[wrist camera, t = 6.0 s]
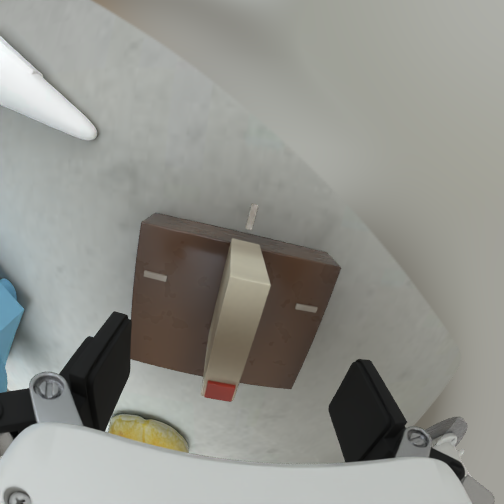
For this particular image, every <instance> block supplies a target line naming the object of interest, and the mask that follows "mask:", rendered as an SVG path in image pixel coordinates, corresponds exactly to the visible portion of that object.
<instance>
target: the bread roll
mask: <svg viewBox="0 0 504 504" xmlns="http://www.w3.org/2000/svg"><path fill="white" fill-rule="evenodd" d="M108 433H111V434H114V435H118V436H121V437H125V438H128V439H132V440H135V441H139V442H143V443H147V444H151V445H155V446H159V447H163V448H167V449H172V450H176V451H181V452H186V453H189V448H188V445H187V443H186V441H185V439H184V438H183V437H182V436H181V435H180V434H179V433H178V432H177V431H176V430H175V429H173V428H172V427H170V426H169V425H167V424H165V423H162V422H159V421H156V420H152V419H149V420H145V419H144V418H142V417H140V416H138V415H129V414H121V415H117V416H115V417H113V418H111V419H110V426H109V431H108Z"/></svg>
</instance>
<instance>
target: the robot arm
mask: <svg viewBox="0 0 504 504" xmlns="http://www.w3.org/2000/svg"><path fill="white" fill-rule="evenodd" d="M131 328H132V321H131V320H129V319H128V316H127V315H125V314H122V313H118V312H113V313H112V314H111V316H110V317H109V318H108V319H107V321H106V322H105V323H104V325H103V326H102V327H101V328H100V330H99V331H98V332H97V334H96V335H95V336H94V338H93V337H90V336H89V337H87V338H86V339H85V340H84V342H83V343H82V344H81V346H80V347H79V348H78V349H77V351H76V352H75V353H74V355H73V356H72V357H71V359H70V360H69V361H68V363H67V364H66V365H65V367H64V368H63V370H62V371H61V372H60V374H57V373H53V372H42V373H39V374H37V375H35V376H34V377H33V378H32V379H31V381H30V383H29V388H28V389H22V390H16V391H9V392H2V393H0V456H2V458H1V459H0V504H494V502H495V501H494V496H493V494H492V493H491V492H490V491H489V490H487V489H486V488H485V487H484V486H482V485H481V484H480V483H478V482H477V481H476V480H474V479H473V478H472V477H471V476H470V475H469V473H468V471H467V469H466V468H465V466H464V464H463V462H462V461H461V455H463V454H464V450H463V449H461V450H458V451H457V449H456V448H455V444H456V442H457V437H456V435H455V434H454V433H448V434H444V435H442V436H439V437H437V438H435V439H433V440H432V439H431V436H430V435H429V434H428V432H426V431H425V430H424V429H422V428H420V427H417V426H411V427H408V428H405V424H406V423H407V421H406V419H405V418H404V416H403V414H402V412H401V411H400V409H399V407H398V405H397V404H396V402H395V400H394V399H393V397H392V395H391V393H390V392H389V390H388V388H387V387H386V385H385V383H384V382H383V380H382V378H381V377H380V375H379V373H378V372H377V370H376V368H375V367H374V365H373V364H372V362H371V361H370V360H362V359H358V360H356V362H353V363H352V365H351V366H350V368H349V370H348V372H347V374H346V376H345V378H344V380H343V381H342V383H341V385H340V387H339V389H338V390H337V392H336V394H335V396H334V397H333V399H332V401H331V403H330V405H329V413H330V416H331V419H332V422H333V425H334V428H335V432H336V435H337V438H338V441H339V444H340V447H341V450H342V453H343V456H344V459H345V462H346V463H329V464H280V463H262V462H249V461H239V460H231V459H223V458H216V457H209V456H203V455H197V454H191V453H186V452H181V451H176V450H172V449H167V448H163V447H159V446H155V445H151V444H147V443H143V442H139V441H135V440H132V439H128V438H125V437H121V436H118V435H114V434H111V433H107V432H105V430H106V427H107V425H108V422H109V420H110V418H111V415H112V413H113V411H114V409H115V406H116V404H117V402H118V400H119V397H120V395H121V393H122V391H123V388H124V386H125V384H126V382H127V380H128V377H129V374H130V352H131Z"/></svg>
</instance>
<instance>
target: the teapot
mask: <svg viewBox="0 0 504 504" xmlns="http://www.w3.org/2000/svg"><path fill="white" fill-rule="evenodd" d="M23 312H24V308H23V307H22V306H21V305H20V304H19V303H18V302H17V295H16V291H15V289H14V287H13V285H12V284H11V283H10V282H9V281H8V280H7V279H4V278H3V279H0V393H2V392H7V374H6V370H5V365H6V361H7V358H8V354H9V351H10V348H11V345H12V342H13V339H14V336H15V333H16V330H17V328H18V325H19V322H20V320H21V317H22V314H23Z"/></svg>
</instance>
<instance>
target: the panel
mask: <svg viewBox="0 0 504 504" xmlns="http://www.w3.org/2000/svg"><path fill="white" fill-rule="evenodd" d="M257 209H258V205H256V204H251V208H250V212H249V216H248V220H247V224H246V229H249V230H252V228H253V224H254V220H255V216H256V213H257ZM232 238H233V239H238V240H242V241H246V242H250V243H255V244H259V245H260V248H261V252H262V255H263V259H264V262H265V266H266V270H267V273H268V277H269V280H270V284H271V287H270V290H269V293H268V296H267V299H266V303H265V306H264V309H263V312H262V315H261V318H260V322H259V325H258V328H257V331H256V334H255V337H254V340H253V343H252V346H251V349H250V352H249V355H248V358H247V362H246V365H245V368H244V371H243V374H242V376H241V379H240V382H239V383H244V384H251V385H258V386H266V387H275V388H284V389H292V386H293V384H294V382H295V380H296V378H297V376H298V373H299V371H300V369H301V367H302V365H303V362H304V360H305V358H306V356H307V353H308V351H309V349H310V346H311V344H312V342H313V339H314V337H315V334H316V332H317V330H318V327H319V325H320V322H321V320H322V317H323V315H324V312H325V310H326V307H327V305H328V302H329V299H330V297H331V294H332V291H333V289H334V286H335V283H336V281H337V278H338V275H339V272H340V269H341V267H340V266H339V265H338V264H337V263H336V262H335V261H334V260H333V259H332V258H331V256H330V255H329V254H328V253H326V252H322V251H318V250H314V249H310V248H306V247H302V246H298V245H293V244H289V243H285V242H281V241H277V240H272V239H268V238H264V237H260V236H255V235H251V234H247V233H243V232H238V231H234V230H230V229H225V228H221V227H217V226H212V225H208V224H203V223H199V222H195V221H190V220H186V219H181V218H177V217H172V216H168V215H163V214H158V213H154V214H153V215H151V216H150V217H148V218H147V219H145V220H144V221H142V222H141V228H140V235H139V242H138V249H137V258H136V266H135V276H134V286H133V298H132V312H131V321H132V328H131V352H130V359H133V360H136V361H140V362H143V363H147V364H151V365H155V366H159V367H163V368H167V369H171V370H175V371H180V372H184V373H189V374H194V375H199V376H203V374H204V366H205V358H206V351H207V343H208V336H209V331H210V327H211V322H212V318H213V314H214V309H215V305H216V301H217V297H218V292H219V288H220V284H221V280H222V276H223V272H224V267H225V263H226V259H227V255H228V251H229V247H230V243H231V239H232Z"/></svg>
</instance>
